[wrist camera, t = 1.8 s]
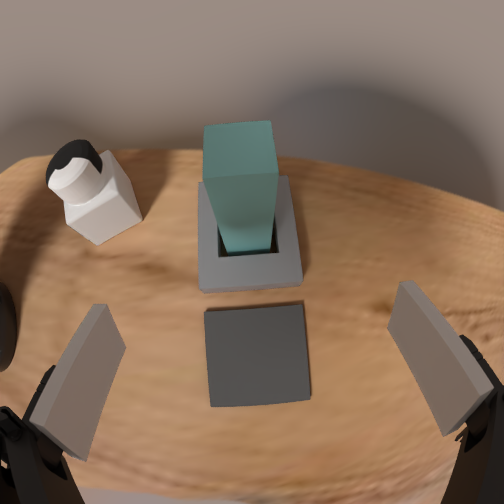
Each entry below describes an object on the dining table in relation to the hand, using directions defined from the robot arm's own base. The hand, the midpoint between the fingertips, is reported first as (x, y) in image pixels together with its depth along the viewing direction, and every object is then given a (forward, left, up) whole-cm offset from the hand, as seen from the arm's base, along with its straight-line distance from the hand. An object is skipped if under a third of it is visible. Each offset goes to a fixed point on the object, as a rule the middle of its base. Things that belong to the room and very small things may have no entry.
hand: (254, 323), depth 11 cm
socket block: (0, +10, -16) cm, 19 cm away
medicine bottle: (-17, +15, -17) cm, 28 cm away
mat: (0, -3, -16) cm, 17 cm away
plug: (0, +10, -16) cm, 19 cm away
